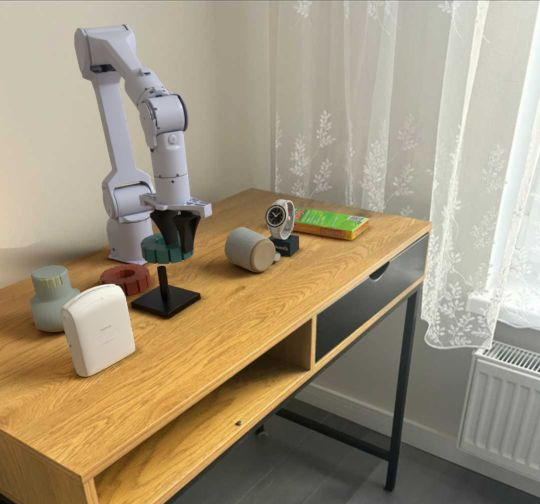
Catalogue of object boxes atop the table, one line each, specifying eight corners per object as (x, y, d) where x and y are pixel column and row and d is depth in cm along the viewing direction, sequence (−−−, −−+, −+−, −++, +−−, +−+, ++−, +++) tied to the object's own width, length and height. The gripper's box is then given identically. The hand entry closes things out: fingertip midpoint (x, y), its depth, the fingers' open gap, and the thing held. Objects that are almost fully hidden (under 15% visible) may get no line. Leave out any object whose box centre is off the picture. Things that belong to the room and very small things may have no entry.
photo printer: (86, 381, 91) (69, 307, 84) (70, 371, 93) (51, 299, 87) (140, 352, 97) (128, 281, 91) (123, 343, 100) (110, 274, 93)
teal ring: (132, 258, 110) (129, 244, 108) (166, 241, 116) (164, 228, 115) (171, 268, 105) (169, 254, 104) (204, 250, 112) (202, 236, 111)
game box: (351, 244, 134) (271, 226, 143) (368, 230, 142) (291, 214, 150) (352, 231, 133) (271, 214, 141) (369, 217, 140) (291, 202, 149)
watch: (263, 256, 129) (260, 205, 123) (280, 242, 135) (278, 194, 129) (286, 260, 127) (285, 208, 121) (303, 246, 133) (302, 196, 127)
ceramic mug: (252, 279, 119) (250, 241, 115) (225, 268, 124) (222, 231, 120) (290, 263, 125) (289, 227, 122) (262, 253, 131) (261, 218, 127)
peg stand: (131, 307, 111) (124, 271, 107) (164, 288, 117) (159, 253, 113) (168, 319, 107) (163, 281, 103) (201, 298, 113) (197, 262, 109)
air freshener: (35, 315, 110) (21, 264, 105) (82, 306, 112) (70, 255, 107) (39, 343, 101) (24, 289, 96) (90, 332, 103) (78, 279, 98)
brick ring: (92, 290, 118) (90, 277, 117) (126, 272, 125) (124, 260, 123) (127, 300, 114) (124, 287, 112) (160, 281, 120) (158, 269, 119)
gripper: (122, 174, 102) (134, 250, 109) (189, 185, 95) (198, 265, 102) (150, 164, 107) (161, 237, 114) (216, 173, 100) (223, 251, 107)
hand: (180, 249), depth 109 cm, fingers closed on teal ring, 3 cm apart
